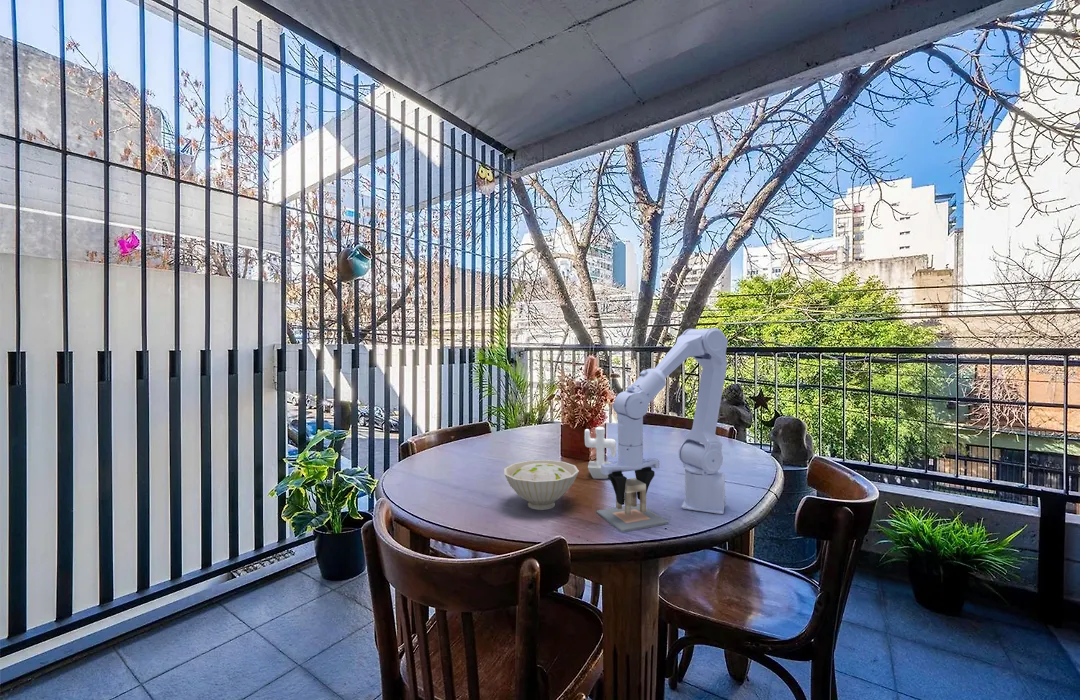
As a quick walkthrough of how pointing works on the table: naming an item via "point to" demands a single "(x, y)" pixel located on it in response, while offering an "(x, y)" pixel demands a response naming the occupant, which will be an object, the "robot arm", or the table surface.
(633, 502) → the stool
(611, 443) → the figurine
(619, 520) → the mat
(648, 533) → the table surface
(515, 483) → the bowl
